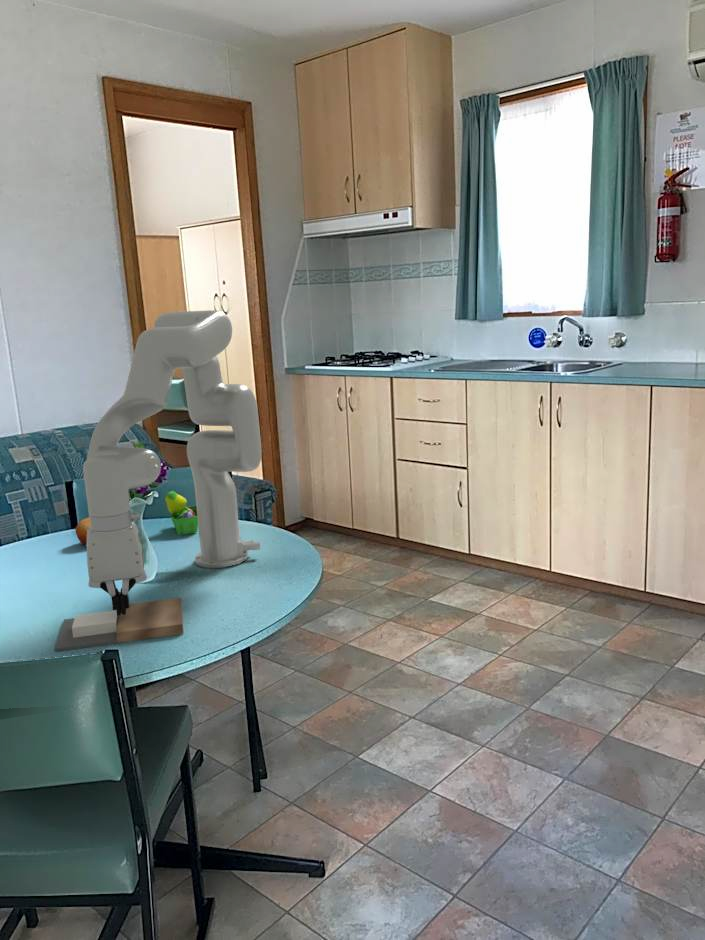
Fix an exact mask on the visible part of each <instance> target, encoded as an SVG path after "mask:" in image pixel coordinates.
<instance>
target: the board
mask: <svg viewBox="0 0 705 940" xmlns="http://www.w3.org/2000/svg"><path fill="white" fill-rule="evenodd" d="M183 619H184V618H183V604H182V597H174V598H165V599H158V600H150V601H143V602H142V601H140V602H134V603H129V608H128V609H126V615H123V614H122V613H121V615H119V617H118V624H117V631H116V636H117V643H116V644H120V643H126V642H133V641H134V642H135V641H141V640H147V639H155V638H163V637H169V636H170V637H171V636H176V635H184V623H183V621H184V620H183Z"/></svg>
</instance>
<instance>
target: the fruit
mask: <svg viewBox="0 0 705 940" xmlns="http://www.w3.org/2000/svg"><path fill="white" fill-rule="evenodd" d="M89 528H90V520H89V516H88V517H86V518H83V519H81V520H80V521H79V522H78V523H77V525H76V527H75V534H76V537H77V539H78V541H79V545H81V544H82V545H83V546H86V547H87V530H88V529H89Z"/></svg>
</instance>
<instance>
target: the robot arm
mask: <svg viewBox="0 0 705 940" xmlns="http://www.w3.org/2000/svg"><path fill="white" fill-rule="evenodd" d="M153 325H154V327H151V328H148V329H146V330H143V331H142V332H141V333H140V335H139V336H138V338H137V341H136V346H135V348H134V353H133V356H132V360H131V365H130V369H129V372H128V376H127V377H128V378H127V382H126V384H125V385H126V386H125V389H124V392H123V395H122V396H121V397H120V398H119V399H118V400H117V401H116V402H114V403H113V405H112V406H110V408H109V409H108V410H107V411H106V412H105V413H104V415H103V416H102V417H101V418H100V420H99V421H98V422H97V423H96V425H95V427H94V429H93V432H92V435H91V437H90V442H89V447H88V451H87V455H86V460H85V461H84V462H83V466H82V468H83V470H82V471H83V479H84V488H85V493H86V494H85V496H86V502H87V503H86V505H87V511H88V517H89V520H90V528H89V529H88V530H87V546H86V565H87V572H88V573H87V574H88V579H89V580H88V588H93V589H101V590H102V591H104V592H106V593H107V594H108V595H109V596H110V597H111V598H110V599H111V605H112V611H117V616H118V615H121V613H122V614H123V615H126V609H128V608H129V604H130V600H129V592H130V591H131V590H132V588H134V586H135V585H137V584H140V583H143V582H145V581H146V580H147V579H148V578H147V577H148V575H147V573H146V571H145V560H144V558H145V557H144V551H143V547H142V541H141V536H140V532H139V529H138V525H137V524H136V523H134V521H137V520H140V513H139V512H136V511H135V512H134V511H133V510H132V509H131V504H130V496H129V495H130V494H129V490H131V489H138V488H143V487H148V486H149V485H151V484H153V483H155V481H156V480H157V479H158V478H159V476H160V474H161V470H162V463H161V459H160V457H159V456H158V454H157V453H156V452H155V451H153V450H151V449H148V448H143V447H120V446H118V443H119V441H120V439H122V437H123V435H124V434H125V433H126V432H128V430H129V429H130V428H131V427H133V426H134V425H136V424H138V423H139V422H141V421H144V420H145V419H148V418H150V417H151V416H153V415H156V414H157V413H159V412H161V411H162V410H164V409H165V408H166V406H167V405H168V400H169V396H170V391H171V386H172V382H173V378H174V374H175V371H176V370H177V369H181V370H182V371H181V372H182V376H183V377H182V378H183V382H184V390H185V397H186V405H187V410H188V411H187V412H188V415H189V418H190V420H191V422H193V423H194V424H195V425H199V426H208V427H209V426H210V427H231V428H232V430H223V429H222V430H219V429H217V430H216V429H215V430H213V429H212V430H211V429H210V430H209V429H208V430H202V431H198V432H196V433H194V434H192V436H190V438H189V439H188V441H187V444H186V455H187V456H186V457H187V460H188V463H189V467H190V470H191V474H192V478H193V484H194V486H193V487H194V492H195V493H194V494H195V504H196V505H195V506H197V517H198V534H199V536H198V537H199V546H200V552H199V553H198V554H196V555H195V557H194V563H195V565H197V566H199V567H202V568H209V569H217V568H218V569H219V568H228V566H229V567H233V566H236V564H237V565H239V564H242V563H243V561H244V562H245V561H247V559H248V558H249V554H248V553H249V552H248V551H258V550H261V545H260V541H254V539H253V540H248V541H244V540H242V537H241V535H240V523H239V512H238V501H237V500H238V499H237V489H236V485H235V482H234V480H233V478H232V477H231V475H230V474H229V472H232V473H233V472H234V473H235V472H236V473H237V472H238V473H248V472H252V471H255V470H256V469H257V468H259V466H260V463H261V461H262V457H263V456H262V454H263V453H262V452H263V451H262V449H263V448H262V438H261V429H260V420H259V419H260V418H259V411H258V409H259V408H258V404H257V403H258V402H257V400H256V397H255V394H254V392H253V391H252V390H251V388H250V387H248V386H246V385H244V384H239V383H238V384H237V383H234V384H233V383H227V384H225V383H224V382H223V377H222V372H221V371H222V370H221V365H220V364H221V363H220V362H219V361H220V360H219V359H218V357H217V356H218V355H219V354H221V353H222V352H223V351H224V350H226V348H227V347H228V345H230V343H231V340H232V336H233V324H232V322H231V320H230V318H229V316H228V315H227V314H226V313H225V312H223V311H221V310H214V309H213V310H196V311H195V310H184V311H183V310H182V311H173V312H167V313H166V312H165V313H163V314H160V315H159V316H158V317H157V318H156V319H155V321H154V324H153ZM247 557H248V558H247ZM241 562H242V563H241ZM232 565H233V566H232ZM115 581H121V584H122V585H121V588H120V591H119V589H118V588H117V586H116V583H115Z"/></svg>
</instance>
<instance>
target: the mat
mask: <svg viewBox="0 0 705 940" xmlns="http://www.w3.org/2000/svg"><path fill="white" fill-rule="evenodd" d="M74 619H75V617H72V618H65V619H63V621H62V625H61V626H60V631H59V635H58V637H57V640H56V643H55V647H54V652H61V650H62V651H67V650H68V651H69V650H75V649H83V648H91V647H98V646H105V645H112V644H118V643H117V636H116V632H112V633H105V634H97V635H90V636H82V637H75V638H73V633H72V626H73V622H74Z"/></svg>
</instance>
